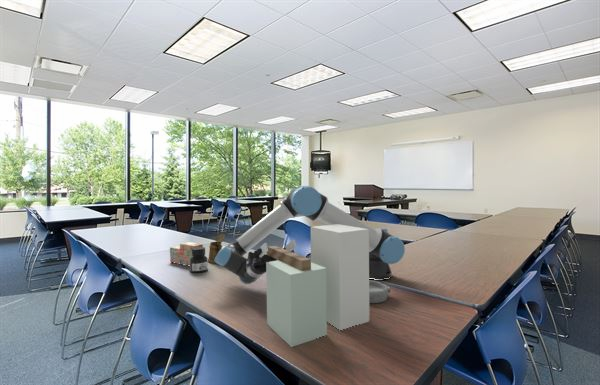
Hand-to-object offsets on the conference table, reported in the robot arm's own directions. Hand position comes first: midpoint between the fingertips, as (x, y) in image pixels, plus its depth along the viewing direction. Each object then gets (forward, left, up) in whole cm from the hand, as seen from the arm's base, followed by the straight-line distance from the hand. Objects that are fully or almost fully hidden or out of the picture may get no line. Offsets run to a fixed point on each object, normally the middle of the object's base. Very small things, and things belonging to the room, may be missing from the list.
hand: (280, 244), depth 99 cm
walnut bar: (-2, +3, -5) cm, 6 cm away
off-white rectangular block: (-19, 0, -25) cm, 31 cm away
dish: (-34, -17, -25) cm, 46 cm away
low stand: (-5, +8, -25) cm, 26 cm away
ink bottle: (+47, -58, -25) cm, 79 cm away
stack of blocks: (+59, -73, -25) cm, 97 cm away
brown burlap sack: (+42, -76, -25) cm, 91 cm away
